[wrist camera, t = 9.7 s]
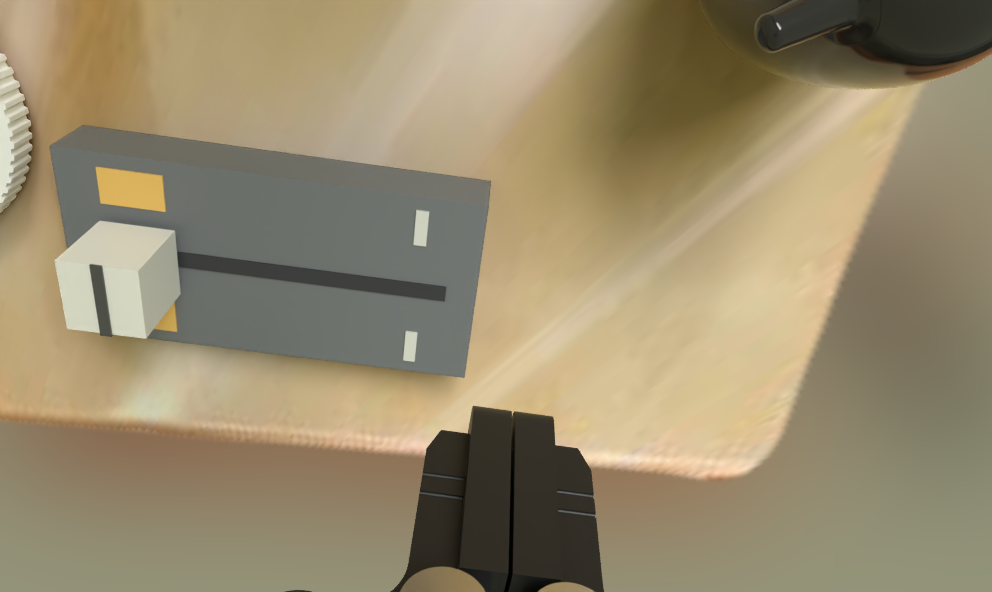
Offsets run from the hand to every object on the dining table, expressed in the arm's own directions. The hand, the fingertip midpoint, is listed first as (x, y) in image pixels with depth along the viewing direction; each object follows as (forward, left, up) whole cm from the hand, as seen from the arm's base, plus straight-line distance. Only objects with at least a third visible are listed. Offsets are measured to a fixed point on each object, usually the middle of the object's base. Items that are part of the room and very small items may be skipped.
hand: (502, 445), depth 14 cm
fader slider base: (+10, -10, -25) cm, 28 cm away
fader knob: (+10, -17, -21) cm, 29 cm away
